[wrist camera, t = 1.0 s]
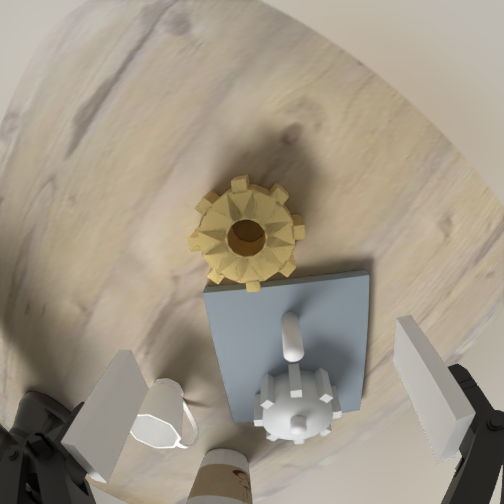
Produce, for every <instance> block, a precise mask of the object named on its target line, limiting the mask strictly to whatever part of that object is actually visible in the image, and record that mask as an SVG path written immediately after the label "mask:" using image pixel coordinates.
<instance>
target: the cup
mask: <svg viewBox="0 0 504 504" xmlns="http://www.w3.org/2000/svg"><path fill="white" fill-rule="evenodd" d="M183 394H184V391H183V389H182V388H181V386H180V384H179V383H177V382H175V381H173V380H171V379H169V378H163V379H156V381H155V383H154V385H153V386H152V387H151V388H150V389H149V390H148V392H147V395H146V397H145V399H144V401H143V403H142V406H141V408H140V410H139V412H138V414H137V417H136V419H135V421H134V423H133V426H132V428H131V430H130V432H131V434H132V435H133V436H134V437H135V439H137V440H139V441H141V442H143V443H145V444H147V445H150V446H152V447H154V448H175V446H176V445H177V446H179V447H180V448H184V449H185V448H188V447H191V446H193V445H194V444H195V443H196V441H197V440H198V437H199V427H198V424H197V421H196V419H195V417H194V415H193V413H192V412H191V410H190V408H189V406H188V405H187V404H186V402H185V401H184V400H183V398H182V396H183ZM184 410H185V412H186V414H187V416H188V417H189V419H190V421H191V423H192V426H193V428H194V436H193V439H192V441H191V442H190V444H189V445H186V444H184V443H183V442H182V441H181V437H182V422H183V411H184Z"/></svg>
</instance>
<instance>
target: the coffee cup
mask: <svg viewBox="0 0 504 504" xmlns="http://www.w3.org/2000/svg"><path fill="white" fill-rule="evenodd" d="M186 504H253V503H252V493H251V483H250V473H249V464H248V462H247V458H246V457H245V456H244V455H243V454H242V453H240V452H238V451H235V450H231V449H213V450H211V451H208V452H207V454H206V455H205V457H204V458H203V460H202V463H201V465H200V468H199V471H198V473H197V476H196V479H195V481H194V484H193V487H192V489H191V492H190V495H189V497H188V500H187V502H186Z"/></svg>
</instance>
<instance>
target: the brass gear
mask: <svg viewBox="0 0 504 504" xmlns="http://www.w3.org/2000/svg"><path fill="white" fill-rule="evenodd" d="M231 186H232V187H231V188H230V189H229V190H228V191H226V192H225V193H224V194H222V195H221V196H219V195H218V194H216V193H215V192H214V191H211V192H209V193H208V194H207V195H205V196H204V197H203V198H202V199H201V201H200V202H199V203H198V205H197V206H196V208H195V209H196V210H197V211H198V212H200V213H201V214H203V215H204V217H203V219H202V222H201V225H200V226H198V228H197V229H196V230H195V231H194V232H193V233H192V235H191V236H190V237H189V238H188V240H189V245H190V250H191V252H193V251H201V252H202V256H203V257H204V258H205V260H206V261H207V262H208V263H209V264H210V266H211V269H210V272H209V274H208V276H207V277H208V278H209V279H211V280H212V281H214V282H215V283H216V284H219V283H220V282H221V280H222V279H223V278H224V277H226V278H228V279H231V280H233V281H236V282H238V283H246V288H247V292H257V291H261V281H265V280H267V279H268V278H270V277H271V276H273V275H274V274H275V273H277V272H278V271H279V272H280V273H282V274H283V275H284V276H286V277H288V276H289V275H290V274H291V273H292V272H293V271H294V270H295V268H296V265H295V260H294V256H293V252H292V251H293V249H294V247H295V240H300V239H306V235H305V225H304V223H303V221H302V219H301V217H300V215H299V214H295V215H291V214H290V212H289V210H288V208H287V207H286V206H285V204H284V203H285V202H286V200H287V199H288V198H289V195H288V193H287V191H286V190H285V189H284V188H283V187H282V186H280V185H279V184H278V183H277V182H276V183H275V184H274V185H273V187H272V188H271V189H270V190H268V189H266V188H264V187H261V186H259V185H257V184H250V181H249V175H242V176H236V177H235V178H233V179H232V180H231ZM248 219H249V220H252V221H254V222H256V223H259V225H260V226H261V227H262V229H263V230H264V231H265V232H264V234H263V236H262V237H260V238H259V239H258V240H256V241H250V242H246V241H244V240H241V239H239V238H238V237H237V235H236V234H235V233H234V231H233V224H235V223H236V222H237V221H239V220H248Z"/></svg>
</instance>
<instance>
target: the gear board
mask: <svg viewBox="0 0 504 504" xmlns="http://www.w3.org/2000/svg"><path fill="white" fill-rule="evenodd" d="M203 297H204V302H205V307H206V311H207V316H208V320H209V325H210V329H211V333H212V338H213V342H214V346H215V351H216V355H217V359H218V363H219V367H220V371H221V375H222V379H223V383H224V387H225V391H226V395H227V398H228V402H229V406H230V410H231V413H232V417H233V421H234V423H245V422H254V425H255V426H264V428H265V429H266V438H267V439H269V440H271V441H275V440H277V439H278V438H281V439H286V440H294V444H304V439H306V438H310V437H313V436H316V435H318V434H320V435H322V436H326V435H327V434H329V433H330V432H332V431H331V426H330V424H331V422H332V419H336V418H341V413H345V412H351V411H357V410H360V404H361V396H362V387H363V378H364V368H365V357H366V344H367V329H368V309H369V274H368V273H367V271H366V270H358V271H350V272H342V273H334V274H325V275H317V276H308V277H299V278H290V279H281V280H272V281H262V282H261V291H257V292H247V288H246V283H242V284H232V285H221V286H211V287H205V289H204V291H203Z"/></svg>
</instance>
